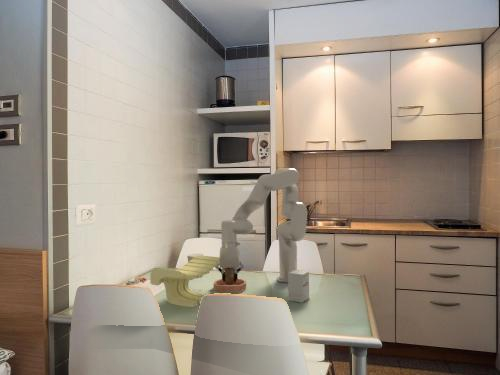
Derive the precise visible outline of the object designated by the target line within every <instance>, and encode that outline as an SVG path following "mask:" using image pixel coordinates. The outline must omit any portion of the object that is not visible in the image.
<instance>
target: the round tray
mask: <svg viewBox="0 0 500 375" xmlns="http://www.w3.org/2000/svg"><path fill="white" fill-rule="evenodd" d="M213 290H214V292H215V293H218V294H222V293H235V294H240V293H244V292H245V291H246V290H247V280H245V279H243V278H238V280H236V282H235V284H234V285H225V282H223V280H222V278H219V279H217V280H214V282H213Z"/></svg>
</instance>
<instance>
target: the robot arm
mask: <svg viewBox="0 0 500 375" xmlns="http://www.w3.org/2000/svg"><path fill="white" fill-rule="evenodd" d="M299 180H300V173H299V171H298V170H297V169H295V168H278V169H276V170H275V172H274V173H271V174H270V173H269V174H266V173H265V174H262V175H260V176H259V178H258V179H257V181H256V183H255V185H254V186H253V188H252V191H251V192H250V194H249V196H248V197H247V199H246V200H245V201H244V202H243V203H242V204H241V205H240V206H239V207H238V208H237V210H236V211H235V213H234V215H233V217H232V219H224V220H222V221H221V227H220V228H221V230H220V231H221V247H220V249H219V256H218V257H220V263H219V264H216V267H214V268H215V269H216V270H217V271H218V272H220V273H221V279H222V280H223V282H225V268H234V270H235V274H234V282H236V280H238V279H239V278H238V276H239V275H238V274H239V273H240V271H241V270H243V269H244V268H245V264H243V263H242V261H241V256H240V249H239V246H240V242H238V238H237V237H238V236H237V235H248V234H250V233H252V231H253V230H254V229H253V228H254V224H253V223H252V221H251V220H249V219H248V218H249V217H250V216H251V215H252V214H253V213H254V212H255V211H257V210H259V209H261V208H262V207H263V206H264V204H265V202H266V200H267V198H268V197H269V194H270V192H272V191H273V192H276V191H280V190H281V192H282V200H281V215H282V217H283V218H285V219H288V220H289V221H288V220H287V221H285V220H284V221H282V222H280V223H279V224H278V225H277V229H276V232H277V238H278V250H279V252H278V257H279V259H278V260H279V261H278V263H279V264H278V265H279V266H278V267H279V275H278V276H277V277H276V280H277V281H278V282H280V283H285V284H286V283H288V273H290V272H292V271H294V270H298V246H297V242H301V241H302V240H303V239H304V238H305V236H306V232H307V224H308V223H307V222H308V221H307V220H308V209H307V207H306V205H305V204H304V203H303V202H299V188H298V186H297V183H298V182H299Z"/></svg>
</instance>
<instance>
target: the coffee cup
mask: <svg viewBox="0 0 500 375" xmlns="http://www.w3.org/2000/svg"><path fill="white" fill-rule="evenodd" d="M197 255H201V256H204V254H202V253H191V254H188V255H187V262H188V261H190V260H191V259H192V258H193V257H195V256H197ZM201 277H203V276H200V277H199V278H201Z"/></svg>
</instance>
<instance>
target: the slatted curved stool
mask: <svg viewBox="0 0 500 375" xmlns="http://www.w3.org/2000/svg"><path fill="white" fill-rule="evenodd" d="M219 263H220V257H219V256H210V255H209V256H208V255H203V256H201V255H197V256H195V257H193V258H192V259H191V260H190V261H188V260H187V263H184V265H183V266H182V267H180V268H178V269H167V268H160V267H153V268H152V269H151V271H150V275H149V276H150V277H149V278H150V285H152V286H159V285H162V284H163V285H164V288H165V289H164V290H165V295H166V299H167V300H166V301H167V302H168V303H169V304H171V305H178V306H182V307H187V308H194V307H196V306H198V305H201V304H200V301H201V298H202V297H203V296H204V295H205V294H201V293H198V292H195V291H193V290H191V289H190V287H189V282H190V281H191V280H195V279H198V278H201V277H200V276H202V277H203V276H206V275H208V274H210V271H213V270H214V268H215V267H216V264H219ZM197 277H198V278H197Z"/></svg>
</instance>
